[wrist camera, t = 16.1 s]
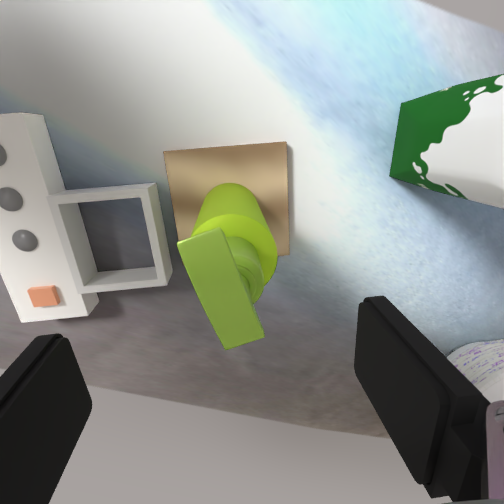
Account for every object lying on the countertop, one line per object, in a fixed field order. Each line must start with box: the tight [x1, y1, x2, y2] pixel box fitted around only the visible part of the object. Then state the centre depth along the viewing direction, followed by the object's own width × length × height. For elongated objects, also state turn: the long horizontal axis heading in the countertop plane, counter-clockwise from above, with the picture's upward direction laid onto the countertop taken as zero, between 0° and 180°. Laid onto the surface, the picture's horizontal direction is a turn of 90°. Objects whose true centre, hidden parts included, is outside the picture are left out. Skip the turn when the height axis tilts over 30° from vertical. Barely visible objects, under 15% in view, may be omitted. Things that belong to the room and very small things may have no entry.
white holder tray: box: [0, 112, 173, 323], centre depth 29 cm, size 20×16×4 cm
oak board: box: [163, 142, 290, 265], centre depth 31 cm, size 12×12×1 cm
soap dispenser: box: [177, 183, 278, 350], centre depth 22 cm, size 6×7×20 cm
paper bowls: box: [446, 339, 504, 403], centre depth 39 cm, size 15×15×8 cm
